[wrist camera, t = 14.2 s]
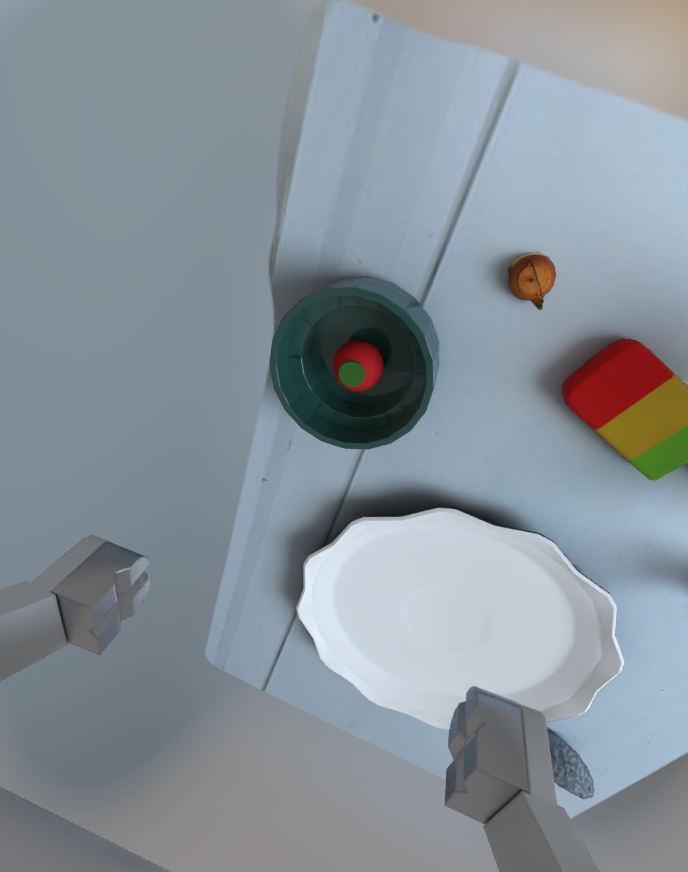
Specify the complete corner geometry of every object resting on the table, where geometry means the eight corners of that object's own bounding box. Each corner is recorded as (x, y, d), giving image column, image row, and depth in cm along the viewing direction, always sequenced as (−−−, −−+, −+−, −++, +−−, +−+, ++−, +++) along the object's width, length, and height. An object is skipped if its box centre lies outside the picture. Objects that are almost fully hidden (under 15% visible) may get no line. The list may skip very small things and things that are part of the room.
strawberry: (345, 328, 31) (330, 341, 28) (392, 341, 31) (383, 357, 27) (336, 373, 33) (321, 390, 30) (381, 386, 32) (370, 406, 29)
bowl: (308, 258, 30) (280, 267, 26) (461, 299, 29) (458, 315, 24) (287, 396, 36) (262, 422, 31) (414, 436, 34) (406, 469, 30)
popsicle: (625, 327, 27) (634, 335, 25) (781, 475, 28) (800, 492, 27) (551, 387, 30) (556, 398, 28) (697, 519, 31) (710, 536, 30)
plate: (450, 431, 33) (448, 445, 31) (690, 655, 37) (703, 681, 35) (256, 588, 48) (247, 604, 46) (441, 736, 52) (440, 757, 50)
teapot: (564, 259, 26) (572, 264, 24) (541, 308, 28) (546, 316, 25) (517, 246, 26) (521, 250, 24) (497, 294, 28) (499, 302, 26)
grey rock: (509, 725, 48) (512, 776, 43) (527, 712, 46) (533, 764, 42) (576, 761, 47) (586, 816, 43) (598, 749, 46) (610, 805, 41)
